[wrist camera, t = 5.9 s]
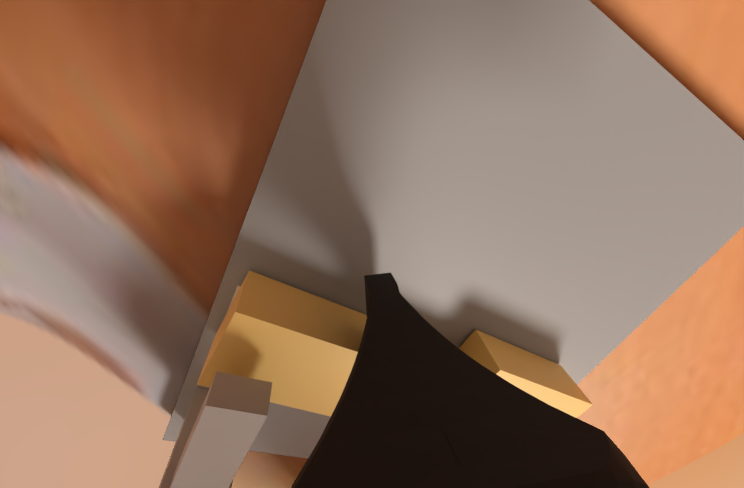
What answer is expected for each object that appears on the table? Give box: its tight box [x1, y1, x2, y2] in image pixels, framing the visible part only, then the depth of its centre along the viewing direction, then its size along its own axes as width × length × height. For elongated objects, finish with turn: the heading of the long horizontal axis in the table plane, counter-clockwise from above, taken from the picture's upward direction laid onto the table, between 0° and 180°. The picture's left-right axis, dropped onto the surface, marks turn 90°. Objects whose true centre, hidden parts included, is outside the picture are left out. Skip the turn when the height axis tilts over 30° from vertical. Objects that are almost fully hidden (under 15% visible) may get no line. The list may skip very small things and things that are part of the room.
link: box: [197, 270, 593, 418], centre depth 12 cm, size 14×5×2 cm, turn 58°
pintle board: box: [159, 0, 744, 488], centre depth 11 cm, size 20×17×6 cm
